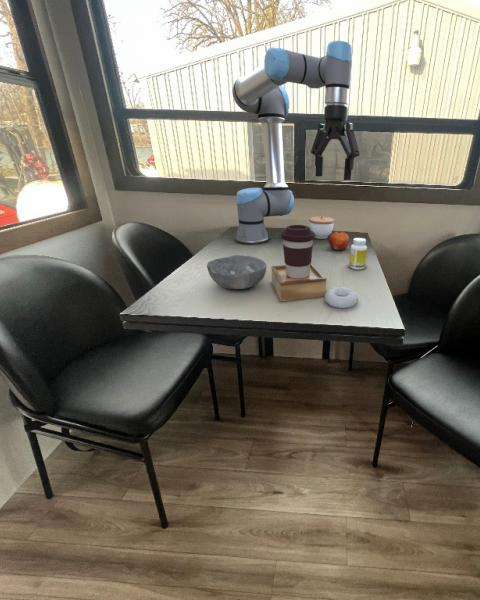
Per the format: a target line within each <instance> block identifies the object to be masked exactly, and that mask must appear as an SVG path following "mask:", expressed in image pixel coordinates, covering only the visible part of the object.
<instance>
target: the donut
mask: <svg viewBox="0 0 480 600" xmlns="http://www.w3.org/2000/svg"><path fill="white" fill-rule="evenodd" d="M323 297H324V301H325V302H326V303H327V304H328V305H329V306H331V307H333V308H338V309H349V308H352V307H353V306H355V305H356V304H357V303H358V301H359V297H358V293H357V292H356V291H355V290H354V289H352V288H349V287H344V286H334V287H331V288H329V289H326V293H325V296H323Z"/></svg>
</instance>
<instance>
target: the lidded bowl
mask: <svg viewBox="0 0 480 600" xmlns="http://www.w3.org/2000/svg"><path fill="white" fill-rule="evenodd" d="M308 220H309V228H310V230H311V231H313V232H314V233H315V239H323V240H324V239H329V237H330V236H331V235H332V234H333V230H334V226H335V225H334V224H335V219H334V218H332V217H329V216H324V214H320V216H312V217H309V219H308Z"/></svg>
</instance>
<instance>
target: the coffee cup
mask: <svg viewBox="0 0 480 600" xmlns="http://www.w3.org/2000/svg"><path fill="white" fill-rule="evenodd" d="M280 238H281V239H282V241H283V243H282V249H283V259H284V265H286V274H287V276H288V277H290V278H294V279H302V278H306V277H308V276H309V273H310V264H311V263H312V258H313V248H314V245H313V241H314V240H315V239H316V238H315V233H314V232H313V231H311V230H310V226H308V225H303V224H291V225H287V226H286V228H285V229H284V230H282V231H281V232H280Z"/></svg>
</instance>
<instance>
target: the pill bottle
mask: <svg viewBox="0 0 480 600" xmlns="http://www.w3.org/2000/svg"><path fill="white" fill-rule="evenodd" d="M352 243H353V244H351V246H350V251H349V268H351V269H353V270H363V269H365V268H366V262H367V252H368V246H367V245H366V243H367V239H366V238H363V237H355V238H353V241H352Z"/></svg>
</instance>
